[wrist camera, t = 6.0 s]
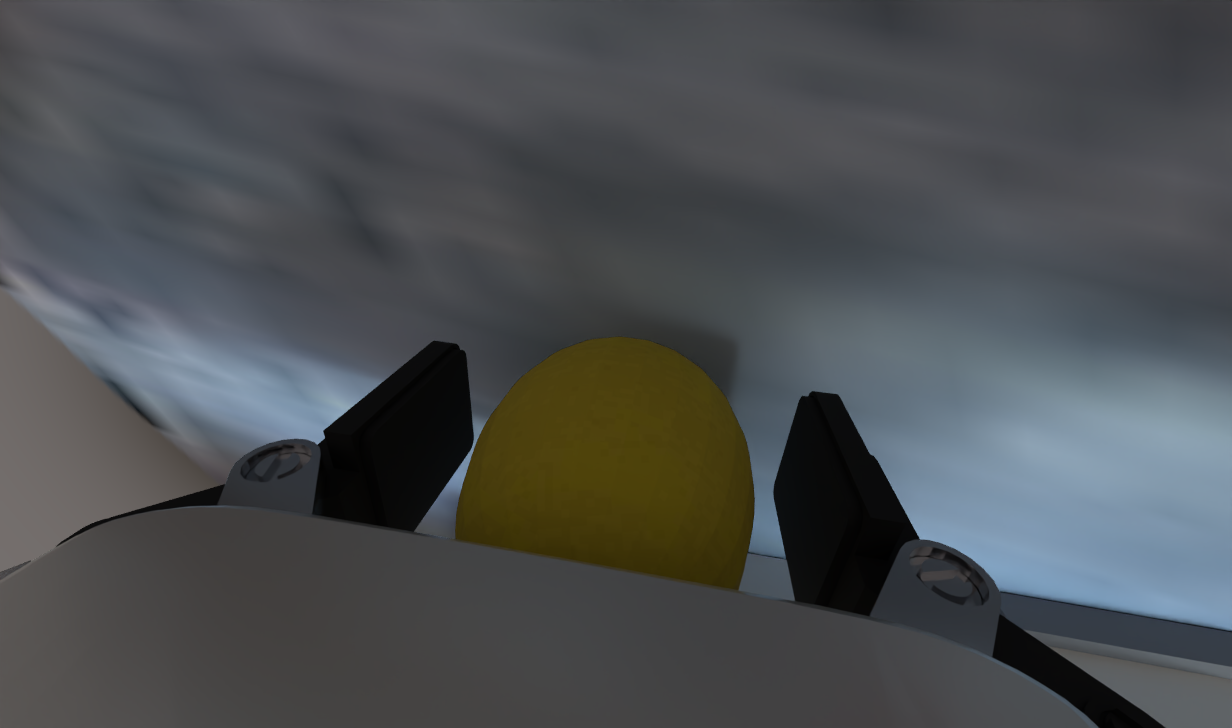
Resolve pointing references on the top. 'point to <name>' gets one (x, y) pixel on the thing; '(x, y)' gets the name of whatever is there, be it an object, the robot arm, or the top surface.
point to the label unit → (1139, 658)
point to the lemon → (615, 466)
